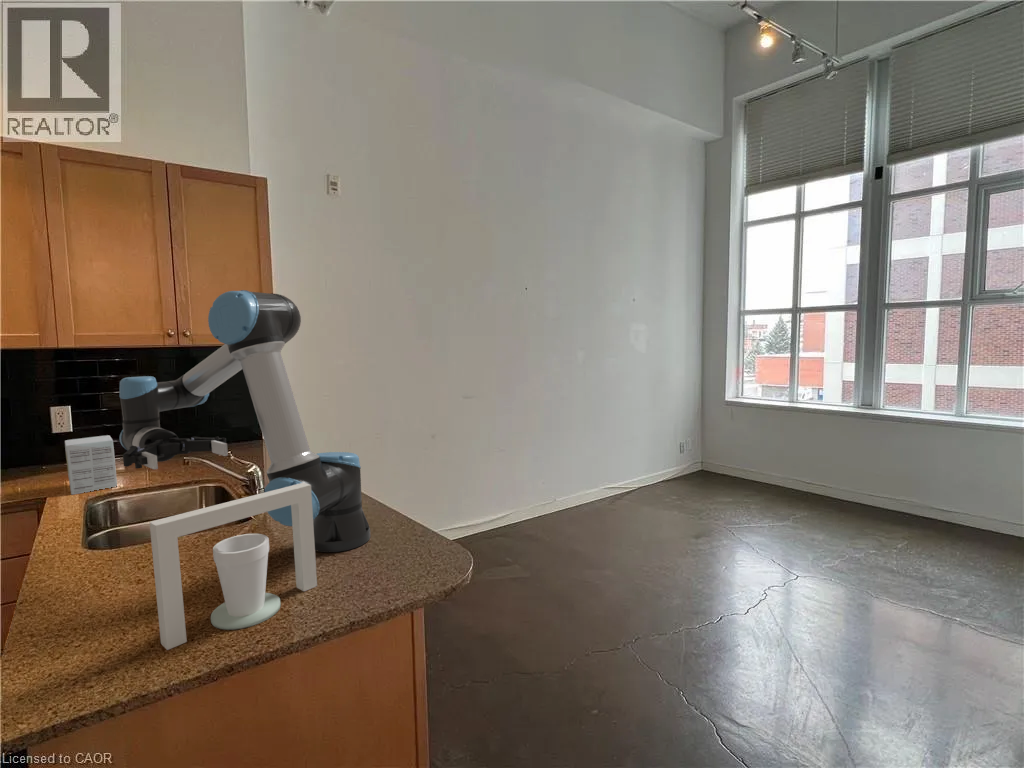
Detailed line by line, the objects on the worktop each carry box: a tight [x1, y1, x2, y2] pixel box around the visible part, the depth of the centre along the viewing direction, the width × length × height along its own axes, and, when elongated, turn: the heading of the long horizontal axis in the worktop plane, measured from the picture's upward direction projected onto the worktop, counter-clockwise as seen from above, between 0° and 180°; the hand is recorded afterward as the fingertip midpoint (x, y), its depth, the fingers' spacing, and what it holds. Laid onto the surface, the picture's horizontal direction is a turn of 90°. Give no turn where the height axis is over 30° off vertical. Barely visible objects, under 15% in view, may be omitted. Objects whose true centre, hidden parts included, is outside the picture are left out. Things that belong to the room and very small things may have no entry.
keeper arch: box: [149, 483, 318, 651], centre depth 100 cm, size 28×12×22 cm, turn 141°
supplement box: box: [64, 434, 118, 495], centre depth 188 cm, size 13×13×18 cm
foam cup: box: [212, 533, 270, 617], centre depth 100 cm, size 10×9×13 cm
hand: (192, 455), depth 111 cm, fingers open, 13 cm apart
